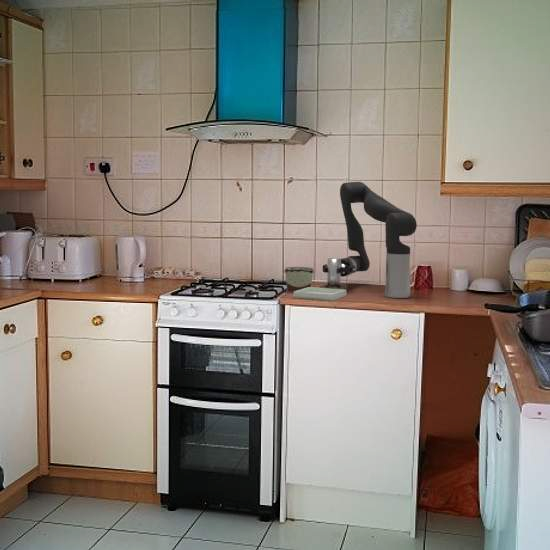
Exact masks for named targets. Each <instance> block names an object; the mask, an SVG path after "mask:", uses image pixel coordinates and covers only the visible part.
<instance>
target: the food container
mask: <svg viewBox="0 0 550 550" xmlns="http://www.w3.org/2000/svg"><path fill="white" fill-rule="evenodd" d="M283 273H284V274H285V280H286V282H285V283H286V292H287V293H290V292H294V291H297V290H301V289H304V288H307V287H312V283H313V274H315V270H314V268H313V267H307V266H289V267H288V266H287V267H285V268H284V271H283Z"/></svg>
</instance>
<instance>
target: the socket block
mask: <svg viewBox="0 0 550 550" xmlns="http://www.w3.org/2000/svg"><path fill="white" fill-rule="evenodd" d="M318 288H329V289H342V290H347V291H346V293H348V285H340V288H333V287H327V284H324V285H321V286H318Z"/></svg>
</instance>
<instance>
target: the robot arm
mask: <svg viewBox="0 0 550 550" xmlns="http://www.w3.org/2000/svg"><path fill="white" fill-rule="evenodd" d="M339 195H340V196H339V197H340V202H341V207H342V212H343V217H344V222H345V227H346V232H347V246H348V249H349V250H350V251H353V252H357V254H358V255H349V256H347V257H343V258H340V259H341V267H340V268H338V273H339V274H340V273H341V275H340V278H341V277H348V276H350V275H352V274H355V273H357V272H366V271H368V270H369V269H370V264H371V263H370V259H369V256H368V254H367V250H366V247H365V239H364V231H363V230H364V229H363V227H362V225H361V223H360V222H359V220H358V219H357V218H356V216H355V214H354V212H353V209H352V204H356V203H357V204H358V203H359V204H360V203H362V204H363V210H364V212H365V213H366V214H367V215H368V216H369V217H370V218H372V219H373V220H375V221H379V222H382V223H385V226H384V227H385V248H386V258H385V260H386V261H385V285H384V286H385V287H384V289H385V290H384V296H385V297H386V298H391V299H392V298H393V299H394V298H396V299H407V298H409V297H410V296H411V277H412V273H411V271H410V270H411V269H410V267H411V264H410V262H411V261H410V260H411V247H410V246H409V245H407V244H404V243H402V241H401V239H400V237H409V236H412V235H413V234H414V233H415V232H416V231H417V225H418V223H417V221H416V218H415V216H414V215H413V214H412V213H410V212H407V211H404V210H403V209H401V208H400V207H397V206H395V205H394V204H393V203H391V202H389V201H388V200H387V199H385V198H384V197H382V196H380V195H379V194H377V193H376V192H374V191H373V190H372V189H371V188H370V187H368V186H367V185H366V184H365V183H364V182H362V181H350V182H343V183H341V185H340V188H339ZM322 272H323V273H325V274H327V263H326V264H323V265H322Z"/></svg>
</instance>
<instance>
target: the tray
mask: <svg viewBox="0 0 550 550" xmlns="http://www.w3.org/2000/svg"><path fill="white" fill-rule="evenodd" d="M346 291H347V292H348V289H347V290H342V289H329V288H319V287H313V286H311V287H307V288H304V289H301V290H297V291H294V293H293V299H299V298H302V299H303V300H304V299H305V300H312V299H313V300H312V301H314V300H315V301H324V302H325V301H327V302H334V301H337V300H339V299H343V298H345V297H347V292H346ZM342 297H343V298H342Z"/></svg>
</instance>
